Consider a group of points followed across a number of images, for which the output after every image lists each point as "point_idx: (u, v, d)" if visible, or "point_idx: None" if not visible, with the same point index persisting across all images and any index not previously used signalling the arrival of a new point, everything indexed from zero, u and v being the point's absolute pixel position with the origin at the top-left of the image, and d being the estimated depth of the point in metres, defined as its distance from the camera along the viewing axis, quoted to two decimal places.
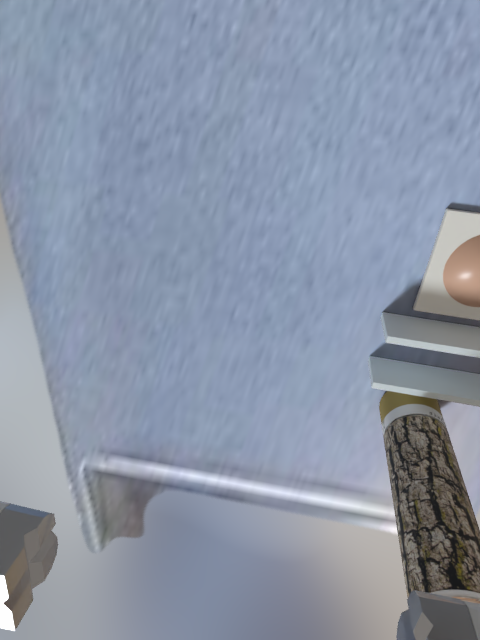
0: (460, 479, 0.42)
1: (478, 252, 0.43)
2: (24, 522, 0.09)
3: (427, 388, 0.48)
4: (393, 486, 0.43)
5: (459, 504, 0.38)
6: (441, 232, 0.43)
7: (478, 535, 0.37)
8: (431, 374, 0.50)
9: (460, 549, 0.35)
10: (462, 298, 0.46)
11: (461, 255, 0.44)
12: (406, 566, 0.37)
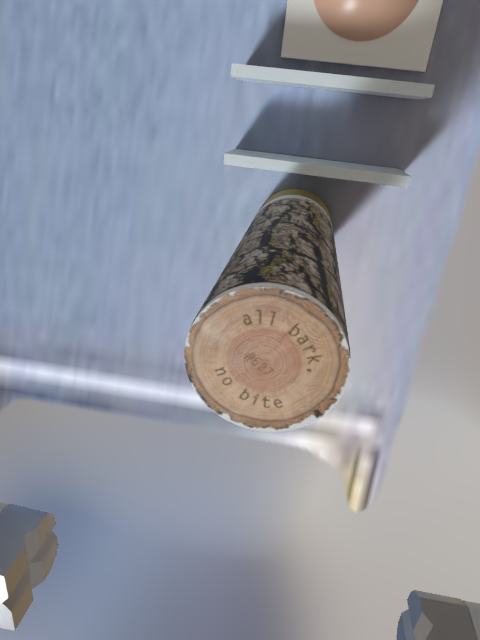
0: (325, 237, 0.27)
1: None
2: (24, 522, 0.09)
3: (300, 162, 0.34)
4: None
5: (306, 239, 0.24)
6: None
7: (327, 267, 0.22)
8: (313, 160, 0.36)
9: (282, 258, 0.20)
10: (341, 27, 0.33)
11: None
12: None
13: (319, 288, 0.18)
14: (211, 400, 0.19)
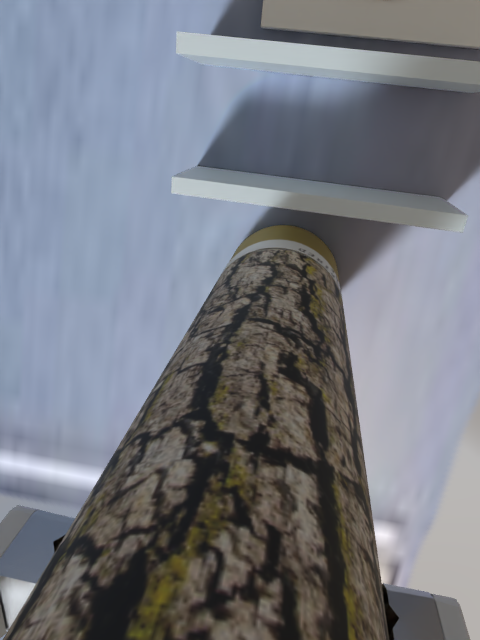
0: (331, 341, 0.15)
1: None
2: (53, 528, 0.09)
3: (291, 190, 0.21)
4: None
5: (296, 375, 0.11)
6: None
7: (341, 464, 0.10)
8: (311, 184, 0.24)
9: (225, 496, 0.07)
10: None
11: None
12: None
13: None
14: None
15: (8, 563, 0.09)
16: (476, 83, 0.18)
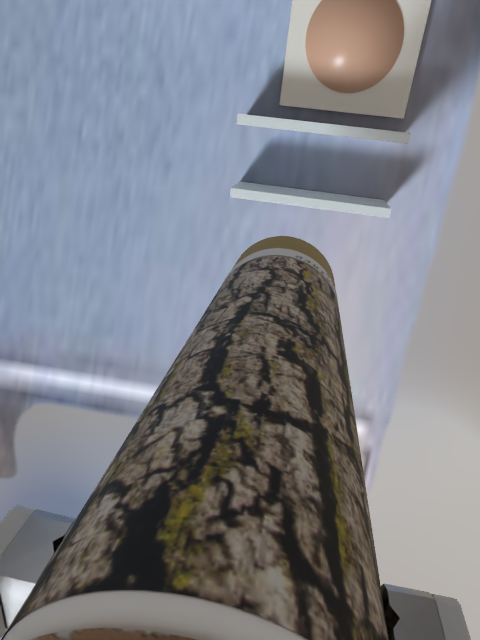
0: (326, 333, 0.16)
1: (341, 12, 0.36)
2: (52, 528, 0.09)
3: (296, 195, 0.39)
4: None
5: (293, 357, 0.13)
6: None
7: (334, 428, 0.11)
8: (308, 192, 0.41)
9: (233, 445, 0.09)
10: (331, 81, 0.38)
11: (322, 18, 0.37)
12: None
13: (318, 559, 0.07)
14: None
15: (7, 563, 0.09)
16: (390, 141, 0.36)
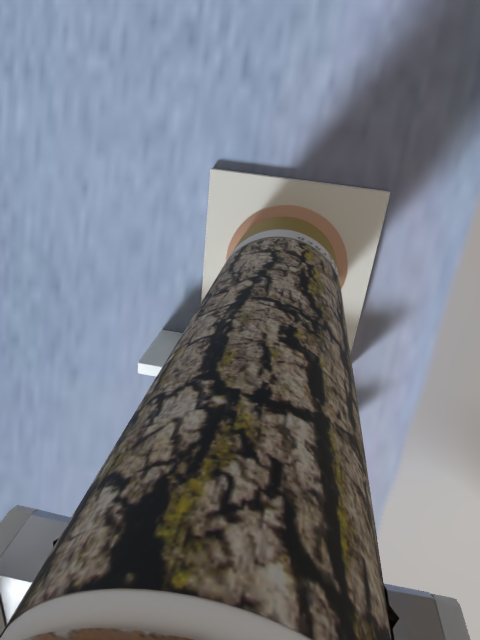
0: (329, 318, 0.16)
1: None
2: (52, 528, 0.09)
3: None
4: None
5: (295, 343, 0.13)
6: (210, 205, 0.28)
7: (337, 417, 0.11)
8: None
9: (233, 437, 0.09)
10: None
11: None
12: None
13: (320, 553, 0.07)
14: None
15: (8, 563, 0.09)
16: None
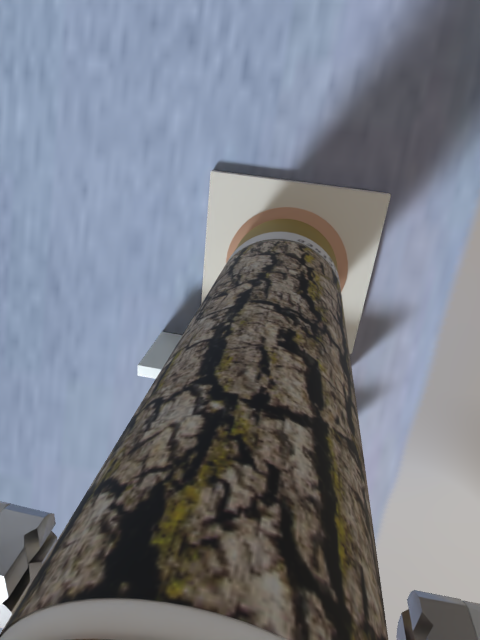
0: (328, 321, 0.16)
1: None
2: (24, 522, 0.09)
3: None
4: None
5: (294, 347, 0.13)
6: (210, 207, 0.28)
7: (335, 422, 0.11)
8: None
9: (230, 443, 0.09)
10: None
11: None
12: None
13: (316, 561, 0.07)
14: None
15: None
16: None
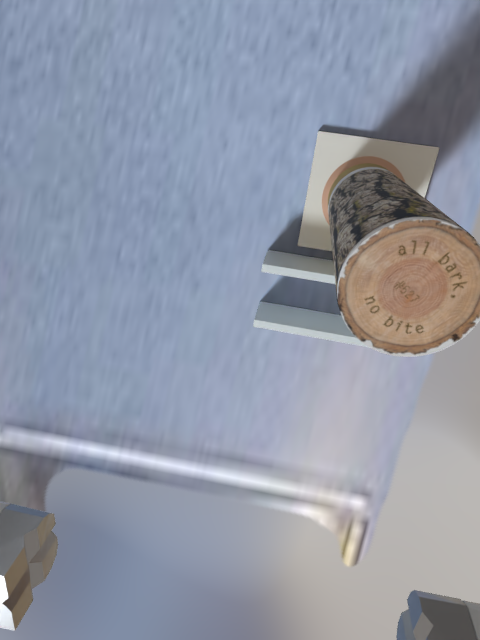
0: None
1: None
2: (24, 522, 0.09)
3: (311, 327, 0.45)
4: (332, 225, 0.31)
5: (417, 194, 0.26)
6: (315, 156, 0.42)
7: None
8: (320, 317, 0.47)
9: (415, 203, 0.22)
10: None
11: None
12: (336, 257, 0.24)
13: None
14: (357, 328, 0.22)
15: None
16: None
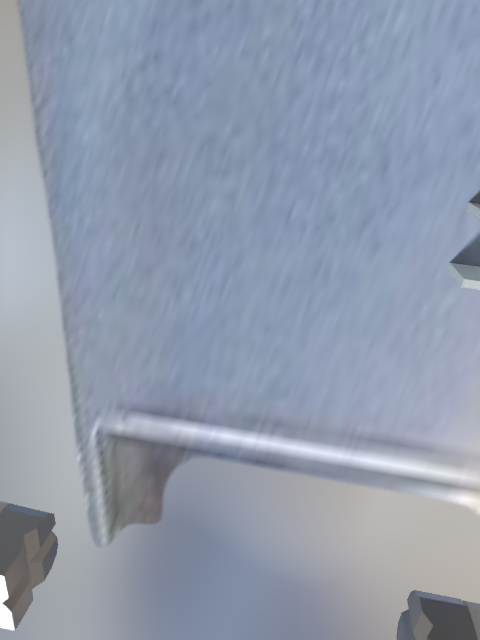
0: None
1: None
2: (24, 522, 0.09)
3: None
4: None
5: None
6: None
7: None
8: None
9: None
10: None
11: None
12: None
13: None
14: None
15: None
16: None
